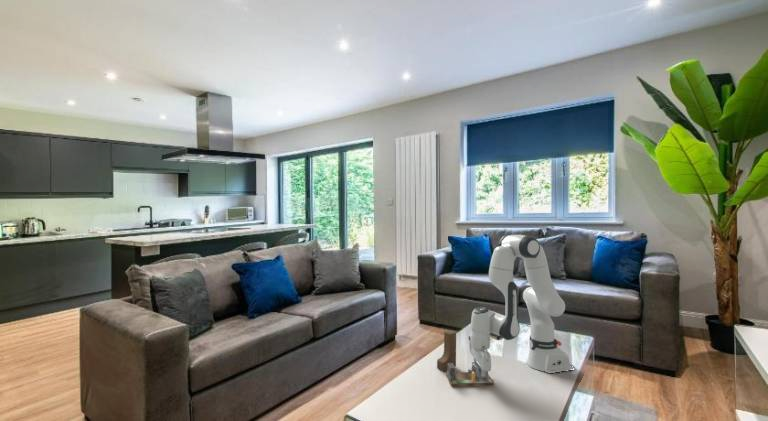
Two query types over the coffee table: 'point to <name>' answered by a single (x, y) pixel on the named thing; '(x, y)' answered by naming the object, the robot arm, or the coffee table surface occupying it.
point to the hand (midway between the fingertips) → (479, 371)
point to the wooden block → (448, 351)
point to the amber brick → (473, 376)
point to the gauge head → (477, 372)
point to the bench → (464, 378)
